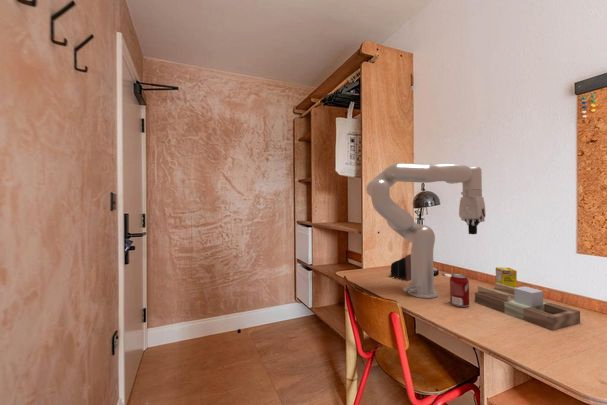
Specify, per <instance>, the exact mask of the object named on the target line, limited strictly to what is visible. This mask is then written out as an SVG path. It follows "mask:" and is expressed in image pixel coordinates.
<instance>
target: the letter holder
mask: <svg viewBox="0 0 607 405" xmlns="http://www.w3.org/2000/svg"><path fill="white" fill-rule="evenodd" d="M391 277H394V278H393V279H396V278H398V279H397V280H400V279H402V280H401V281H404V280H406V281H405V282H408V281H411V280H410V279H411V253H410V254H408V255H405V256H404V257H403V258H400V259H398V260H396V261H393V262H392V263H391V264H390V278H391ZM407 280H408V281H407Z"/></svg>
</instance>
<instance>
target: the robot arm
mask: <svg viewBox="0 0 607 405" xmlns="http://www.w3.org/2000/svg"><path fill="white" fill-rule="evenodd" d="M482 173H483V172H482V168H481V167H480V166H468V165H465V164H457V163H456V164H455V163H454V164H452V163H450V164H449V163H440V164H439V163H409V162H407V163H406V162H397V163H393V164H391V165H389V166H388V167H386V168H385V169H384V170H382V171H381V172H380V173H379V174H378V175H376V176H375V177H374V178H373V179H372V180H370V181H369V182H368V184H367V185H366V192H367V194H368V196H369V197H370V198H371V203H372V204H371V205H372V206H373V208H374V210H375V211H376V213H377V214H378V215H380V216H381V217H382V218H383V219H384V220H386V224H387V225H388V226H389V228H390V229H392V230H393V231H394V232H396V233H397V234H398V235H399V236H401V237H402V238H404V239H405V240H406V241H408V242H409V243H411V247H410V254H411V280H410V282H411V283H409V285H407V286H403V287H402V291H404V292H407V293H408V294H409V295H410V296H413V297H416V298H421V299H434V298H437V297H438V296H439V295H438V294H439V293H438V291H437V290H435V287H434V286H435V282H434V281H435V280H434V279H435V278H434V277H435V276H434V247H435V242H436V236H435V235H436V234H435V232H434V230H433V229H432V228H431V227H430V226H427V225H425V224H420V223H417V222H416V221H414V217H413V216H412V215H411V213H410V212H408V211H406V210H405V209H403V208H402V207H401V206H400V205H398V204H397V203H396V202H395V201H394V200H393V199H392V198H391V195H390V190H391V187H392V186H394V184H396V183H397V182H401V183H402V182H403V183H405V182H406V183H420V184H421V183H422V184H424V183H426V184H427V183H435V182H445V183H447V184H449V185H450V184H451V185H452V184H459V183H461V185H462V191H461V192H460V194H461V195H462V197H460V200H459V205H458V206H459V208H458V210H459V211H458V217H459V218H460V219H461V221H463V222H465V223H466V225H467V226H468V235H477V234H478V226H479V224H480V223H483V222H485V221H486V220H485V219H486V214H487V213H486V204H485V199H484V196H483V188H482V187H483V185H482V184H483V182H482Z"/></svg>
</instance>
